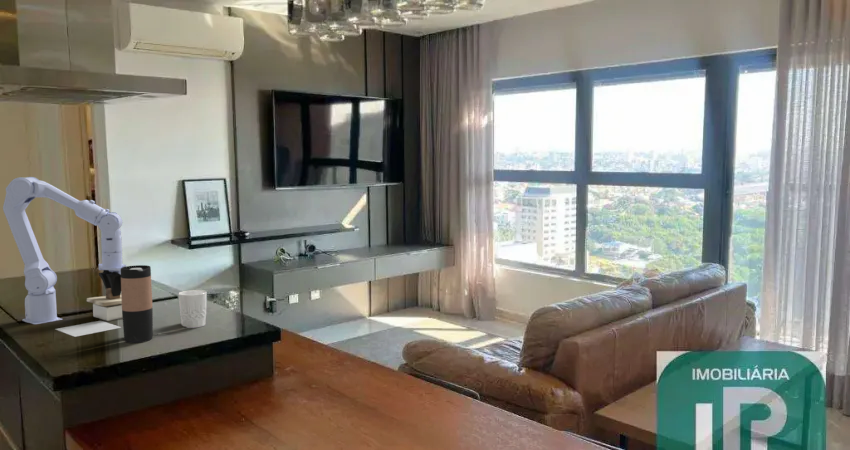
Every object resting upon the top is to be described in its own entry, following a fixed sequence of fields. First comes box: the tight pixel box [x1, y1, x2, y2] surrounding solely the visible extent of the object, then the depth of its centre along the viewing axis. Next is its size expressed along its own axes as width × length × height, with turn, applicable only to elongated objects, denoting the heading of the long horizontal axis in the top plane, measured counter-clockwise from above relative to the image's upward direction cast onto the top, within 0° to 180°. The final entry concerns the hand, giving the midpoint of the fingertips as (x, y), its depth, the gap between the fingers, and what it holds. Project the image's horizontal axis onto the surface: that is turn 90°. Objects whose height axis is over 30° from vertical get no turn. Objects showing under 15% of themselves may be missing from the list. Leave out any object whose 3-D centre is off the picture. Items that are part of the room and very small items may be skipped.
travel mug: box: [121, 264, 154, 344], centre depth 174 cm, size 8×8×20 cm
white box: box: [92, 303, 123, 322], centre depth 199 cm, size 9×9×4 cm
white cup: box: [178, 289, 208, 329], centre depth 190 cm, size 8×8×10 cm
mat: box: [54, 320, 123, 338], centre depth 185 cm, size 13×13×1 cm
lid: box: [86, 288, 122, 306], centre depth 199 cm, size 11×11×4 cm
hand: (113, 294), depth 199 cm, fingers closed on lid, 3 cm apart
